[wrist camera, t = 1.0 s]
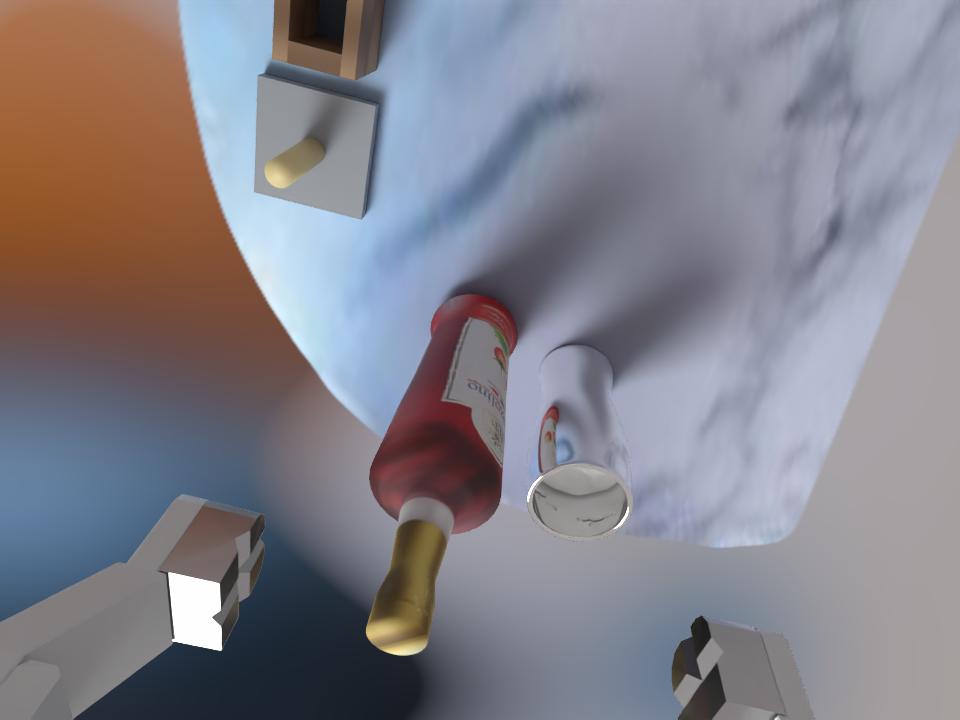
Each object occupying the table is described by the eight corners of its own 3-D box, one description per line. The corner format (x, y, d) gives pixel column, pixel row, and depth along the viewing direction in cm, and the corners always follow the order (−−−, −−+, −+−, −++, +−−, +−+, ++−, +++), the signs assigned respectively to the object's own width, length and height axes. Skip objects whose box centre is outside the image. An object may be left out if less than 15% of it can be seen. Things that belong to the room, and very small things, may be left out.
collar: (309, -56, 38) (277, -61, 34) (389, -35, 38) (367, -37, 34) (302, 50, 41) (272, 58, 37) (376, 70, 41) (354, 80, 37)
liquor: (537, 344, 50) (513, 667, 27) (460, 377, 53) (375, 699, 29) (493, 268, 48) (422, 556, 24) (413, 307, 50) (277, 603, 26)
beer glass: (591, 421, 54) (600, 558, 41) (519, 389, 53) (504, 518, 40) (635, 361, 50) (659, 490, 38) (558, 325, 49) (556, 444, 37)
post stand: (264, 73, 42) (214, 88, 36) (379, 103, 42) (349, 123, 36) (259, 188, 46) (215, 218, 40) (364, 215, 46) (335, 249, 41)
